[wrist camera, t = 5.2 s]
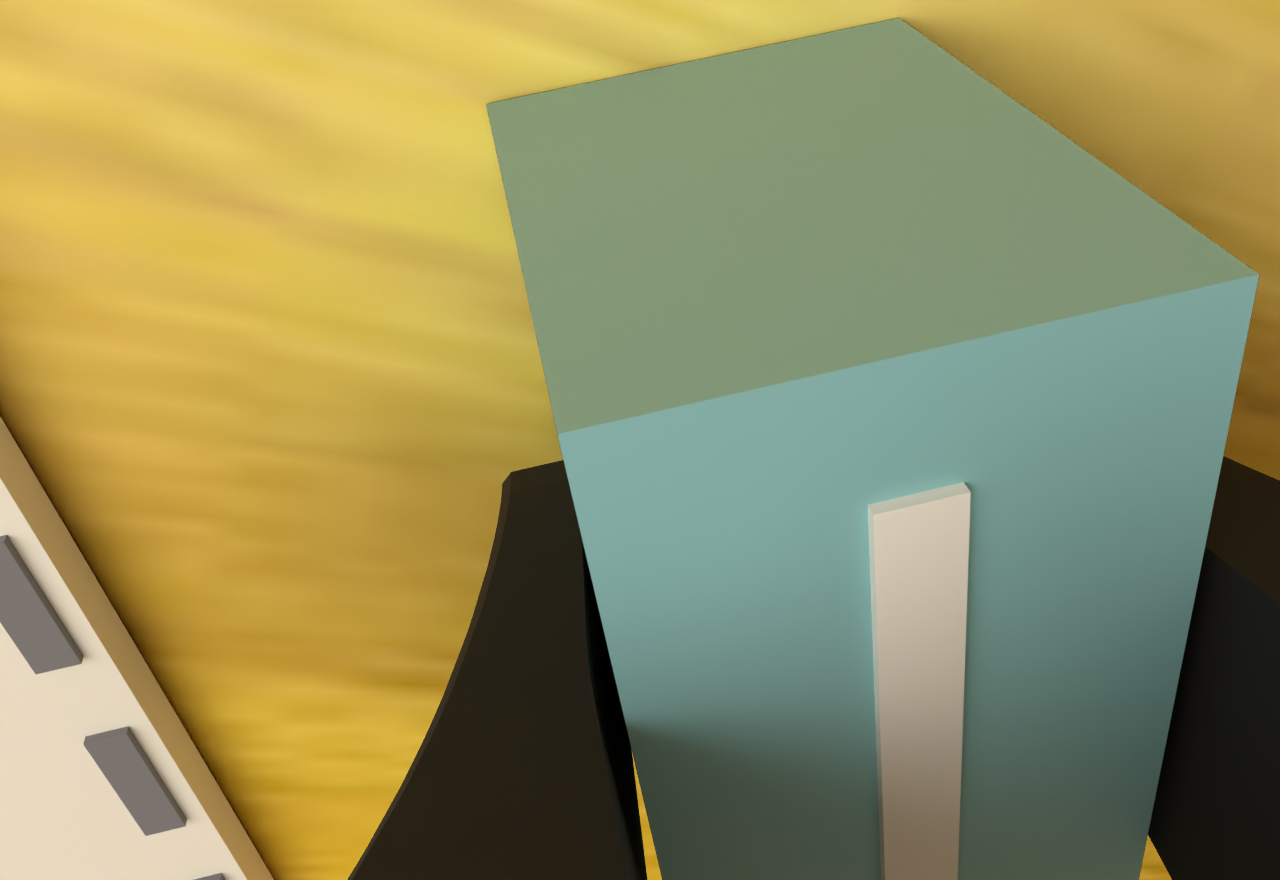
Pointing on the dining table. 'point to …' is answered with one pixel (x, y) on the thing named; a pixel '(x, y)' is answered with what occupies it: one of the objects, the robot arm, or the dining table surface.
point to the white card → (91, 725)
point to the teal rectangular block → (875, 454)
